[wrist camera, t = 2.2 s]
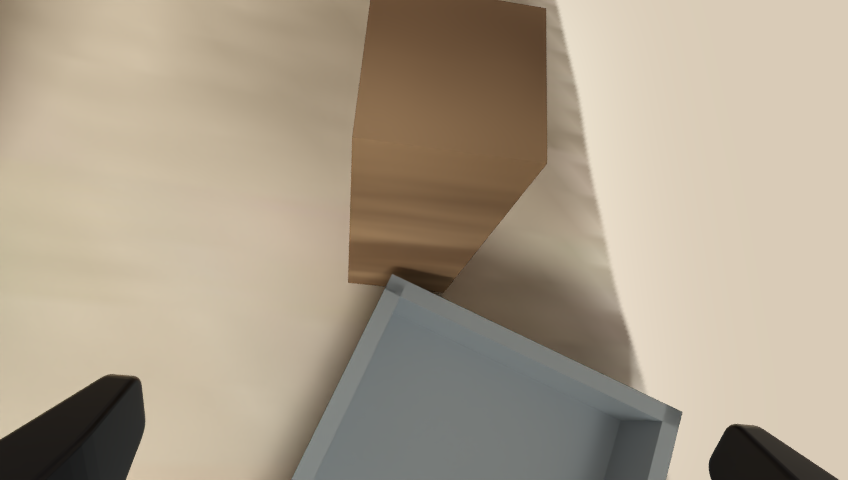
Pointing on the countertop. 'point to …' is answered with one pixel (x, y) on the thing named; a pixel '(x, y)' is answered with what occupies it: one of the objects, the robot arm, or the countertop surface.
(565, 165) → the countertop surface
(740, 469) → the robot arm
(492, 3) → the brown block
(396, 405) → the tray
